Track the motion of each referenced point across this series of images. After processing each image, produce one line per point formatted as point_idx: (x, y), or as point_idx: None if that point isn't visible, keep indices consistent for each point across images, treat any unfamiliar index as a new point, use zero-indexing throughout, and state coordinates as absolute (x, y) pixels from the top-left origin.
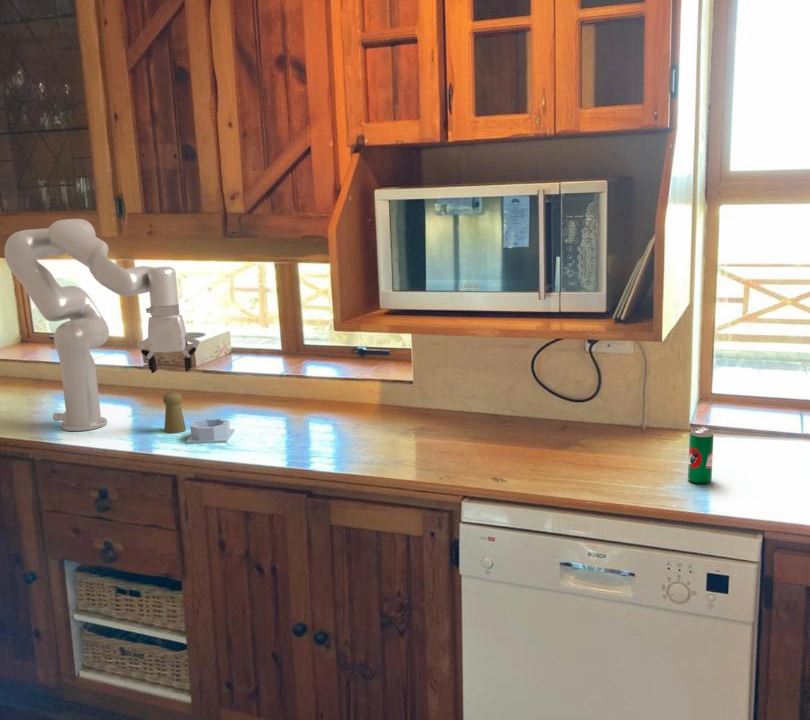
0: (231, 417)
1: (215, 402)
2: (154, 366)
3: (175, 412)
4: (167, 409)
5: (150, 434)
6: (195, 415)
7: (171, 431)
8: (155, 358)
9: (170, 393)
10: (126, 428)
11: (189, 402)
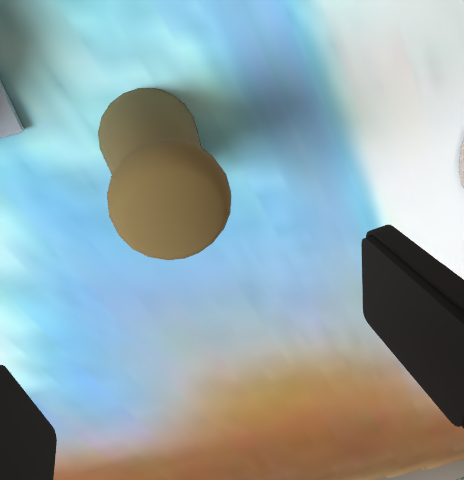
0: (25, 350)
1: (200, 445)
2: (398, 303)
3: (126, 139)
4: (177, 137)
5: (234, 58)
6: (187, 332)
7: (140, 91)
8: (452, 418)
9: (187, 214)
10: (372, 131)
11: (279, 420)
